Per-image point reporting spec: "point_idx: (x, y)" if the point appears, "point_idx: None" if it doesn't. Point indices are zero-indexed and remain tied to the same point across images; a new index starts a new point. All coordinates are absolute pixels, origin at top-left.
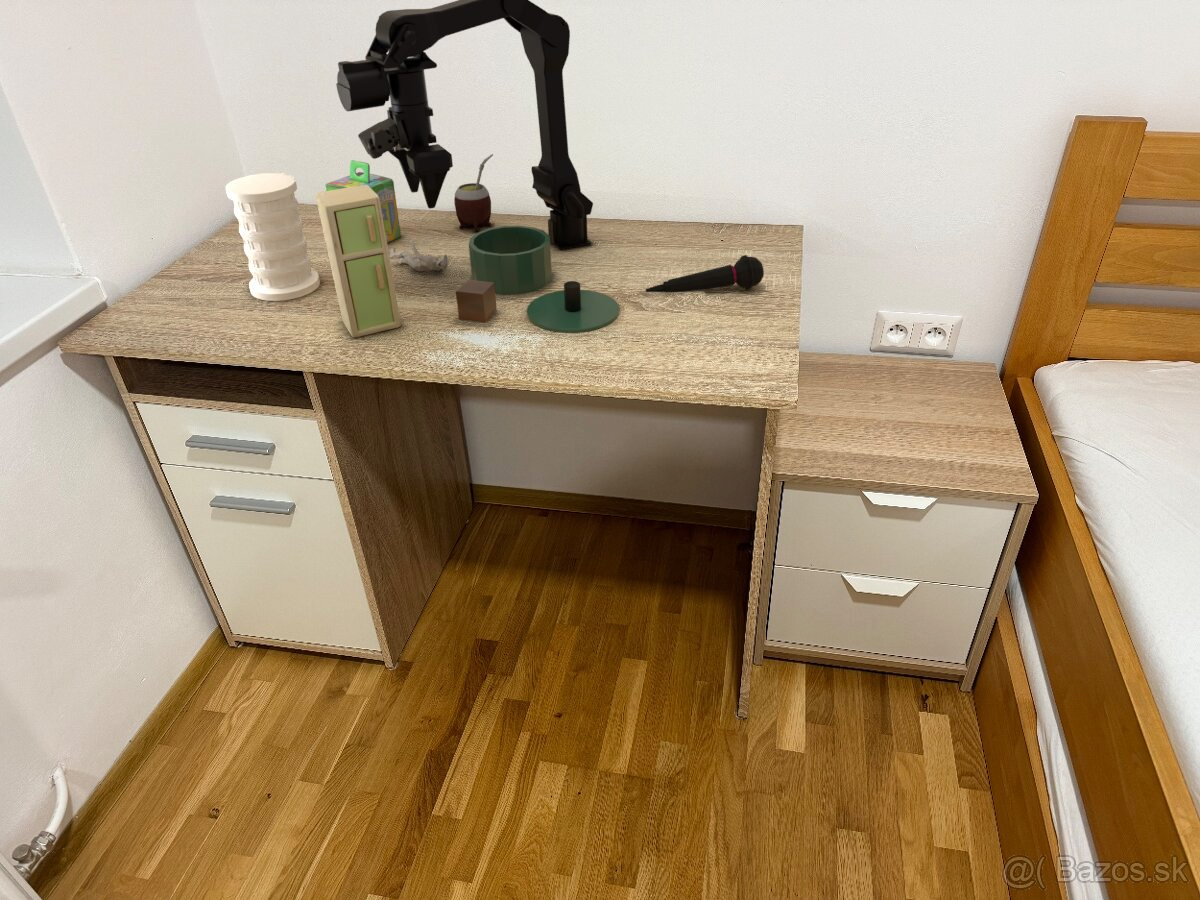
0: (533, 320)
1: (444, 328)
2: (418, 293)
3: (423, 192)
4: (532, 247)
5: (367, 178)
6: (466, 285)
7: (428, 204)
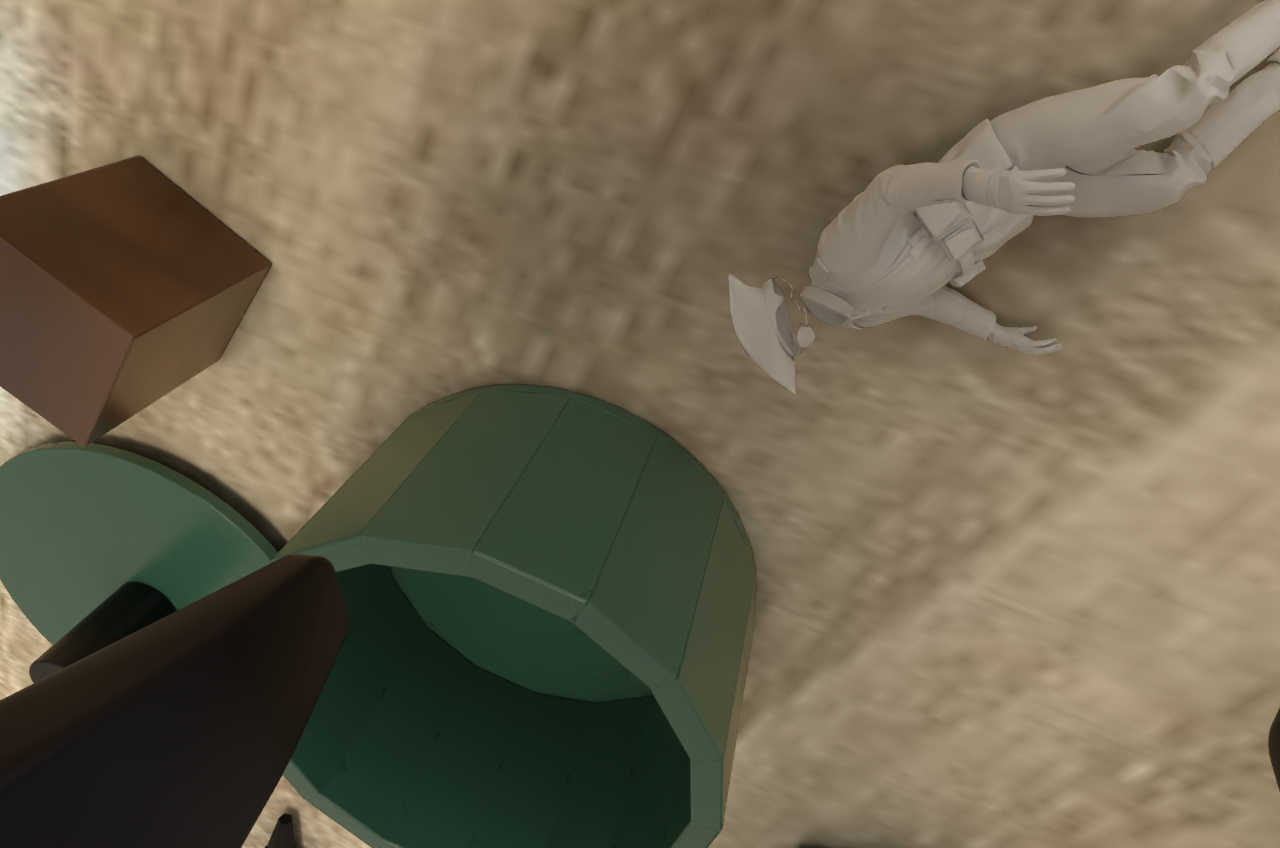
0: (54, 450)
1: (78, 50)
2: (603, 33)
3: (53, 723)
4: (622, 783)
5: None
6: (43, 299)
7: (231, 592)
